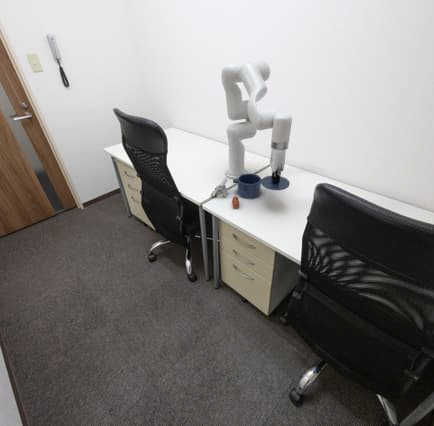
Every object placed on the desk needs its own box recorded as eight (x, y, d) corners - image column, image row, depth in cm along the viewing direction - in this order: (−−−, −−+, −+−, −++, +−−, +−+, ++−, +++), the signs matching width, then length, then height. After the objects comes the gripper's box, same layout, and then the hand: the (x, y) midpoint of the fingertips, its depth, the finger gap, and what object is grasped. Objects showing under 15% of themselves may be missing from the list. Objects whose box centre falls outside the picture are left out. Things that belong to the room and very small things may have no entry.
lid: (259, 177, 120) (260, 166, 116) (285, 177, 120) (287, 166, 116) (262, 191, 109) (263, 180, 105) (292, 191, 109) (294, 179, 105)
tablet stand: (216, 189, 136) (216, 176, 131) (229, 191, 134) (229, 178, 129) (211, 196, 130) (210, 183, 125) (224, 199, 127) (224, 185, 122)
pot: (232, 186, 138) (232, 173, 133) (263, 186, 137) (264, 173, 132) (233, 198, 128) (233, 185, 122) (266, 198, 127) (267, 184, 122)
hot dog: (232, 200, 126) (232, 195, 124) (238, 200, 126) (238, 195, 124) (232, 209, 120) (232, 204, 118) (239, 209, 120) (239, 204, 118)
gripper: (268, 138, 109) (265, 173, 120) (274, 151, 96) (270, 190, 107) (284, 137, 109) (279, 173, 120) (292, 151, 96) (286, 190, 107)
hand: (275, 181), depth 113 cm, fingers closed on lid, 2 cm apart
